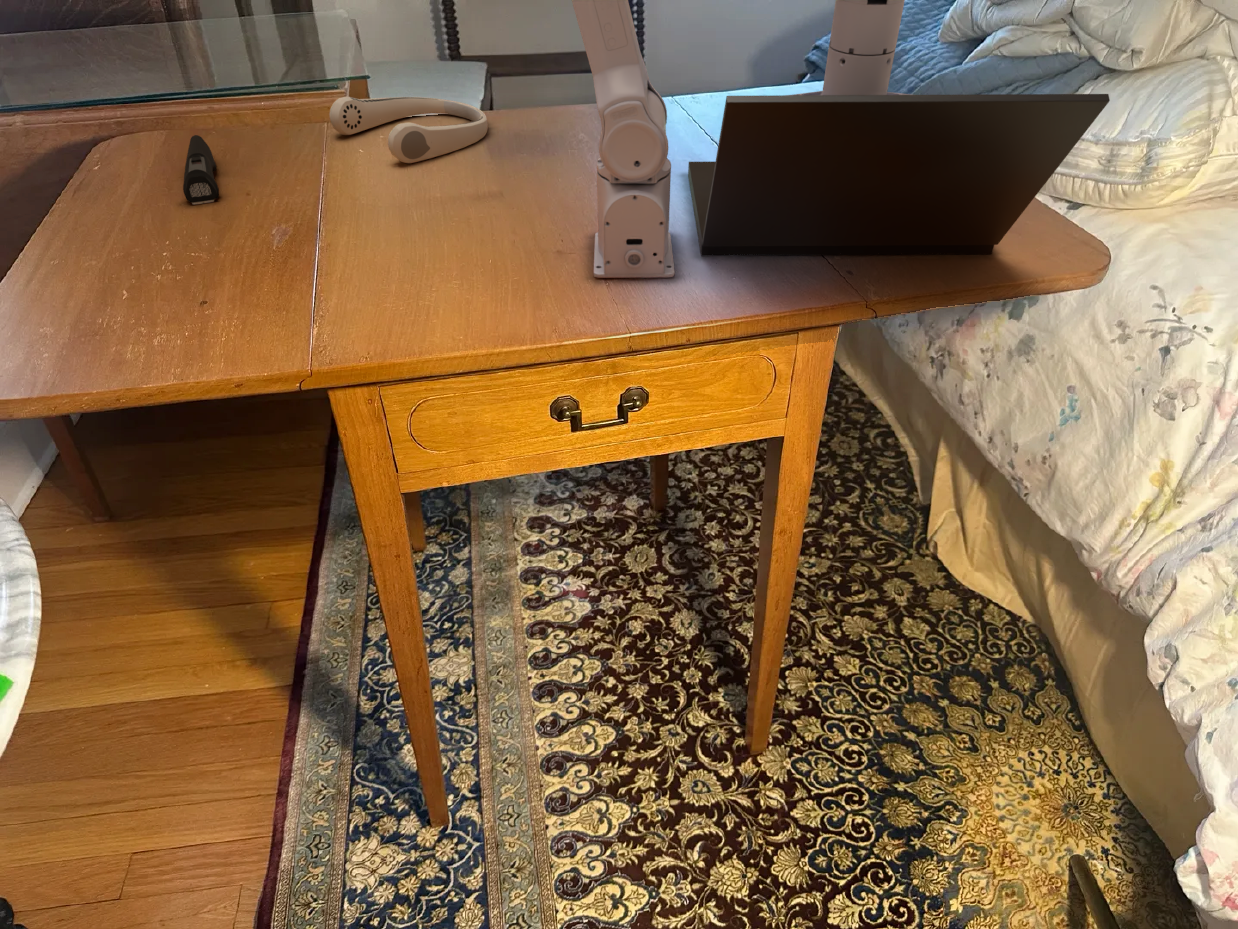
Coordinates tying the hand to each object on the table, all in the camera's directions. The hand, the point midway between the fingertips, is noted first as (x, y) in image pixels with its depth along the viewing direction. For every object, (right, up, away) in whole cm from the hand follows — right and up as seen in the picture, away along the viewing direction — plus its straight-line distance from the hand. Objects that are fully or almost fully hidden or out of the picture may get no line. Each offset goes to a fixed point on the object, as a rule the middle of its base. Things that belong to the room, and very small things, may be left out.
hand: (837, 195), depth 85 cm
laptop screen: (+2, 0, -7) cm, 7 cm away
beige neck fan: (-48, +18, +31) cm, 60 cm away
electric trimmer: (-72, +8, +20) cm, 75 cm away
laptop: (+2, +2, +12) cm, 13 cm away
